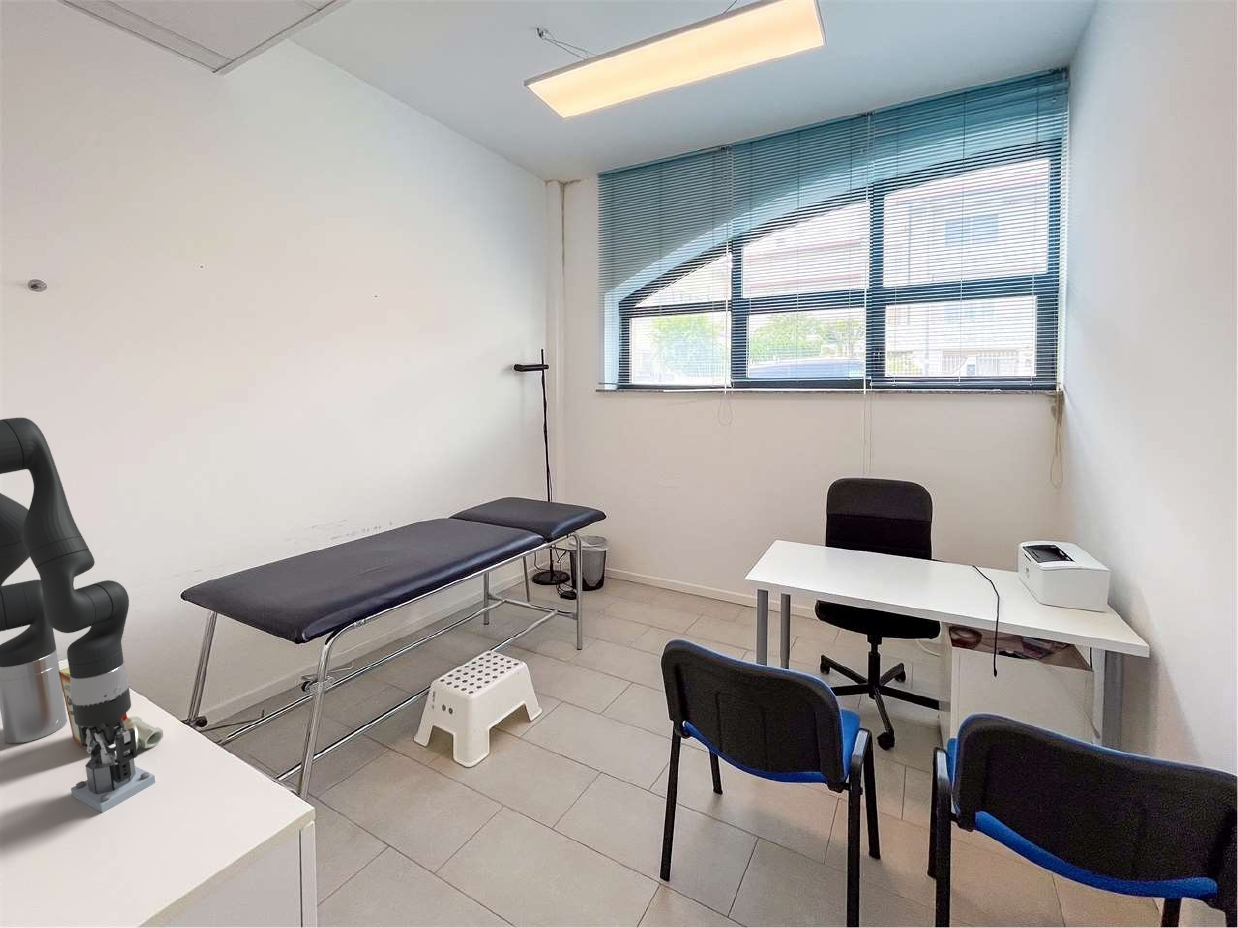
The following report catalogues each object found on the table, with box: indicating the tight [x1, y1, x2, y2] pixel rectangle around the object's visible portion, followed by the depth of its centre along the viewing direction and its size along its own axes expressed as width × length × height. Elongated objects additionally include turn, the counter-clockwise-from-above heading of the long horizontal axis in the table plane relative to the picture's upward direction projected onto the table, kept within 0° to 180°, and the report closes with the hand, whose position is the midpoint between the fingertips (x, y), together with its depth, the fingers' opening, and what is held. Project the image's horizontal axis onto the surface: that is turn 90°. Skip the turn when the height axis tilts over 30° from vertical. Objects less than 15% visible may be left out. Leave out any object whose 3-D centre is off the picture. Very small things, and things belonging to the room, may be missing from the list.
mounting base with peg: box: [70, 743, 156, 814], centre depth 100 cm, size 10×8×8 cm
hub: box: [85, 749, 136, 795], centre depth 100 cm, size 6×6×5 cm
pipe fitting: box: [123, 716, 164, 750], centre depth 112 cm, size 8×4×7 cm
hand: (112, 773), depth 100 cm, fingers open, 6 cm apart
